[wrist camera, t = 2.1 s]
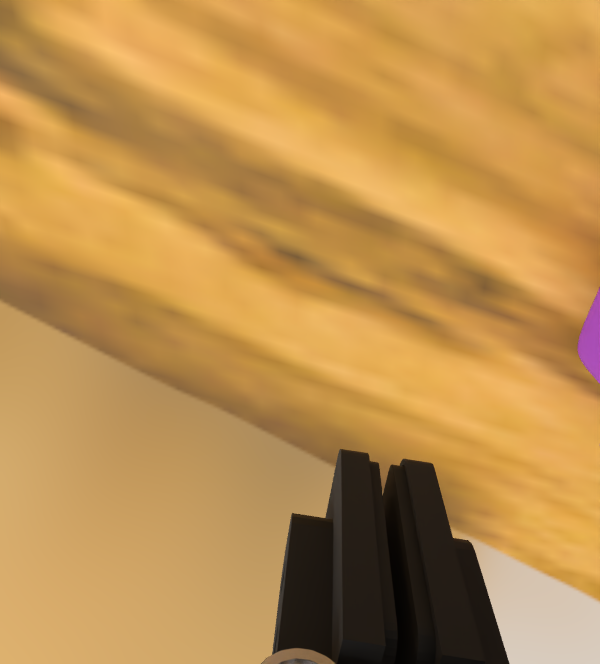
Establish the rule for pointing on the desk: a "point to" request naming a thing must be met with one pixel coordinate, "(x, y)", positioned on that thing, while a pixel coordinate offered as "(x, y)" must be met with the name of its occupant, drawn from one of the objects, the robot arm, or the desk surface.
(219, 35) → the desk surface
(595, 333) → the toy camera
